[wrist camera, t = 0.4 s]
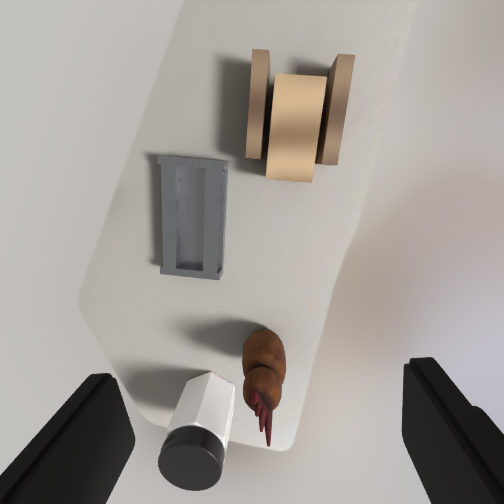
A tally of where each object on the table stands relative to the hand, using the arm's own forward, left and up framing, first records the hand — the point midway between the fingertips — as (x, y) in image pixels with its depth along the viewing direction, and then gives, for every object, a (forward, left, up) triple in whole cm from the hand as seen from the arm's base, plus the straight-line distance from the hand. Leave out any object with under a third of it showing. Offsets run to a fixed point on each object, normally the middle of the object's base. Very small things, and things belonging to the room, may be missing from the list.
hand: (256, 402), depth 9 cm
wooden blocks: (-13, +1, -29) cm, 32 cm away
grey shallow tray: (0, -10, -29) cm, 31 cm away
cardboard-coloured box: (-11, +1, -29) cm, 31 cm away
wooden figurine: (+18, +1, -29) cm, 34 cm away
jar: (+29, -7, -29) cm, 42 cm away
